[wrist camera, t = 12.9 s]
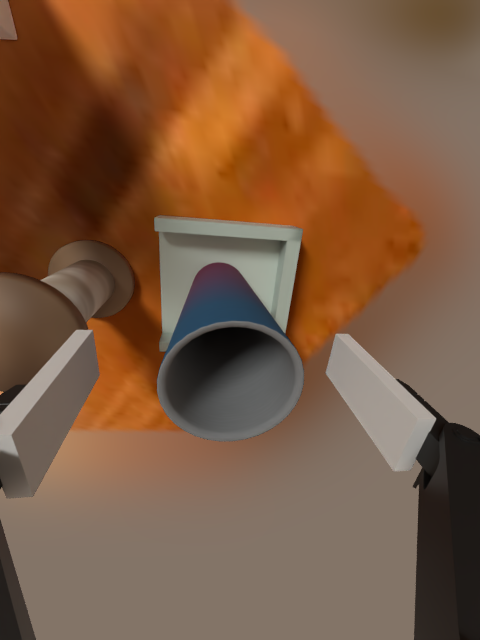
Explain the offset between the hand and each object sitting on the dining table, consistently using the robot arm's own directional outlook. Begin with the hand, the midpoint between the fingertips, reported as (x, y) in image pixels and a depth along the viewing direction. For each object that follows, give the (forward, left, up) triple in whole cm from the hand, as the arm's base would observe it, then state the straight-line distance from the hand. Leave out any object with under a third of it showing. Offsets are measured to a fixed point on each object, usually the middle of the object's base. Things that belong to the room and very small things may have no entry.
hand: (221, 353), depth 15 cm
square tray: (+1, 0, -13) cm, 13 cm away
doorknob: (-11, 0, -13) cm, 17 cm away
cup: (0, 0, -12) cm, 12 cm away
